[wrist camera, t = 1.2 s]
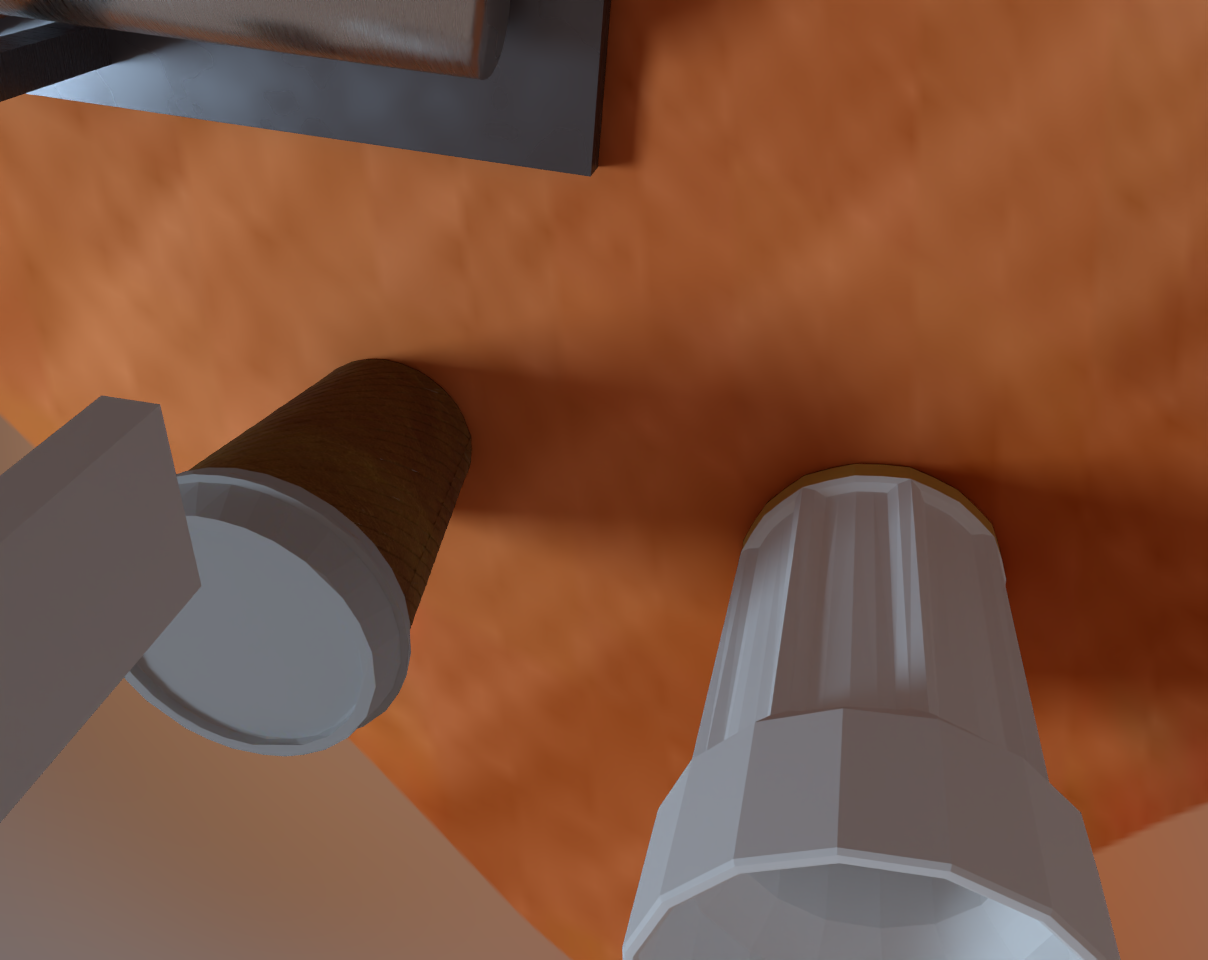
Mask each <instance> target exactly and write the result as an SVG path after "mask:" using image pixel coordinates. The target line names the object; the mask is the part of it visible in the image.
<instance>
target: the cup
mask: <svg viewBox="0 0 1208 960" xmlns="http://www.w3.org/2000/svg"><path fill="white" fill-rule="evenodd" d="M1005 585H1006V576H1005V572H1004V567H1003V562H1002V557H1001V553H1000V548H999V544H998V541H997V538H996V535H995V532H994V529H993V526H992V524H991V523H990V522H989V521H988V519H987V518H986V517H985V516H984V515H983V514H982V513H981V512H980V511H979V510H978V509H977V508H976V506H975V505H973V504H972V503H971V502H970V501H969V500H968V499H967V498H966V497H965V496H964V495H963V494H961V493H960V492H959V491H958V490H957V489H955V488H953V487H951V486H949V485H947V484H945V483H943V482H941V481H940V480H938V479H936V478H934V477H931V476H929V475H927V474H924V473H922V472H920V471H917V470H915V469H913V468H910V467H902V466H892V465H880V464H852V465H847V466H842V467H836V468H831V469H827V470H824V471H820V472H816V473H813V474H809V475H805V476H803V477H802V478H800V479H799V480H797V481H796V482H794V483H793V484H791V485H790V486H788V487H787V488H785V489H784V490H783V491H781V492H780V493H779V494H778V495H777V496H775V497H774V498H773V499H772V500H770V501H769V502H768V503H767V504H766V505H765V506H764V508H763V509H762V511H761V512H760V514H759V515H758V516H757V518H756V519H755V521H754V522H753V524H752V526H751V528H750V530H749V531H748V533H747V535H746V537H745V539H744V541H743V547H742V551H741V554H740V558H739V563H738V567H737V571H736V575H735V580H734V584H733V588H732V592H731V597H730V601H729V605H728V609H727V613H726V618H725V622H724V626H723V630H722V635H721V639H720V643H719V647H718V652H717V656H716V660H715V664H714V669H713V673H712V677H711V681H710V686H709V690H708V694H707V698H706V703H705V707H704V711H703V715H702V720H701V724H700V728H699V732H698V737H697V741H696V745H695V749H694V754H693V758H692V760H691V761H690V763H689V764H688V766H687V767H686V769H685V770H684V772H683V773H682V775H681V776H680V778H679V779H678V781H677V782H676V784H675V785H674V787H673V788H672V790H671V791H670V792H669V794H668V795H667V797H666V798H665V800H664V801H663V803H662V804H661V806H660V807H659V809H658V812H657V816H656V820H655V824H654V828H653V831H652V835H651V839H650V843H649V847H648V851H647V855H646V858H645V862H644V866H643V870H642V874H641V878H640V881H639V885H638V889H637V893H636V897H635V901H634V905H633V908H632V912H631V916H630V920H629V924H628V928H627V931H626V935H625V939H624V943H623V947H622V951H623V960H1121V959H1120V956H1119V952H1118V948H1117V944H1116V940H1115V936H1114V932H1113V929H1112V924H1111V921H1110V917H1109V913H1108V909H1107V905H1106V901H1105V897H1104V893H1103V889H1102V885H1101V882H1100V878H1099V874H1098V870H1097V867H1096V864H1095V860H1094V857H1093V853H1092V850H1091V846H1090V843H1089V839H1088V836H1087V832H1086V829H1085V826H1084V822H1083V819H1082V815H1081V812H1079V811H1078V810H1077V809H1076V808H1075V807H1074V806H1073V805H1072V804H1071V803H1070V802H1069V801H1068V800H1067V799H1066V798H1065V797H1064V796H1063V795H1062V794H1061V793H1059V792H1058V791H1057V790H1056V789H1055V788H1054V787H1053V786H1052V785H1051V784H1050V783H1049V780H1048V775H1047V771H1046V766H1045V762H1044V757H1043V753H1042V748H1041V744H1040V739H1039V735H1038V730H1037V726H1036V721H1035V717H1034V712H1033V708H1032V703H1031V699H1030V694H1029V690H1028V685H1027V681H1026V676H1025V672H1024V667H1023V663H1022V658H1021V654H1020V649H1019V645H1018V640H1017V636H1016V631H1015V627H1014V622H1013V618H1012V613H1011V609H1010V604H1009V600H1008V596H1007V591H1006V587H1005Z"/></svg>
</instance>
